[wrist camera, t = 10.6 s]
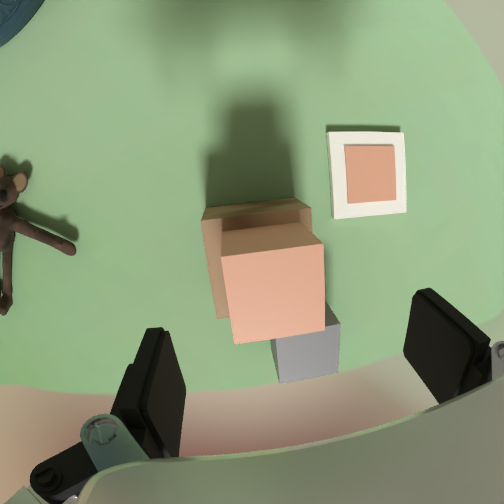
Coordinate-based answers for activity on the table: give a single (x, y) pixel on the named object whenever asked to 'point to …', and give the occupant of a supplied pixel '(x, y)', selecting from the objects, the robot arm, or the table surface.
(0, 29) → the canister
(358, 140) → the card
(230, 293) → the terracotta block
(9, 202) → the brown spindly figurine
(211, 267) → the walnut block
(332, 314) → the charcoal block
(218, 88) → the table surface
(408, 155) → the table surface
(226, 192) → the table surface
